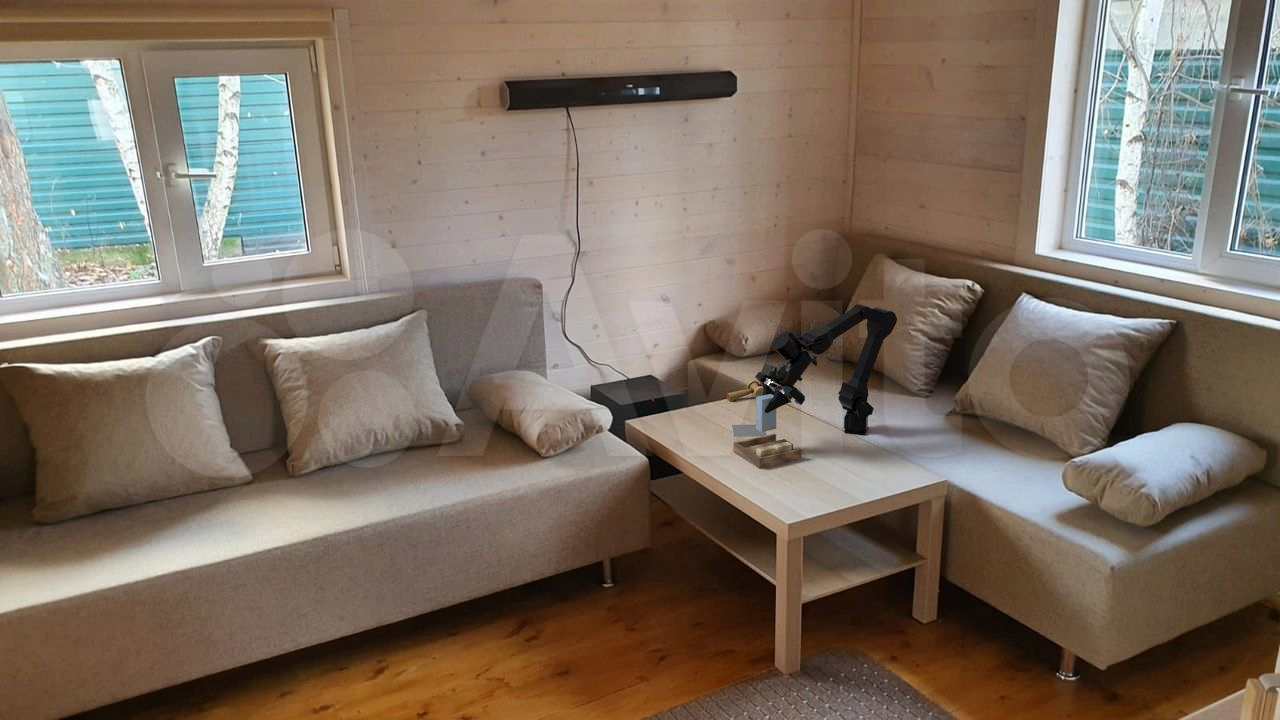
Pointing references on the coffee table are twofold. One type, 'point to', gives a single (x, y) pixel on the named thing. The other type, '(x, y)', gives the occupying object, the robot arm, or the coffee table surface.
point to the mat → (746, 431)
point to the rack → (748, 453)
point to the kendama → (747, 391)
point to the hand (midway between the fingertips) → (762, 410)
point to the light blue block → (765, 414)
